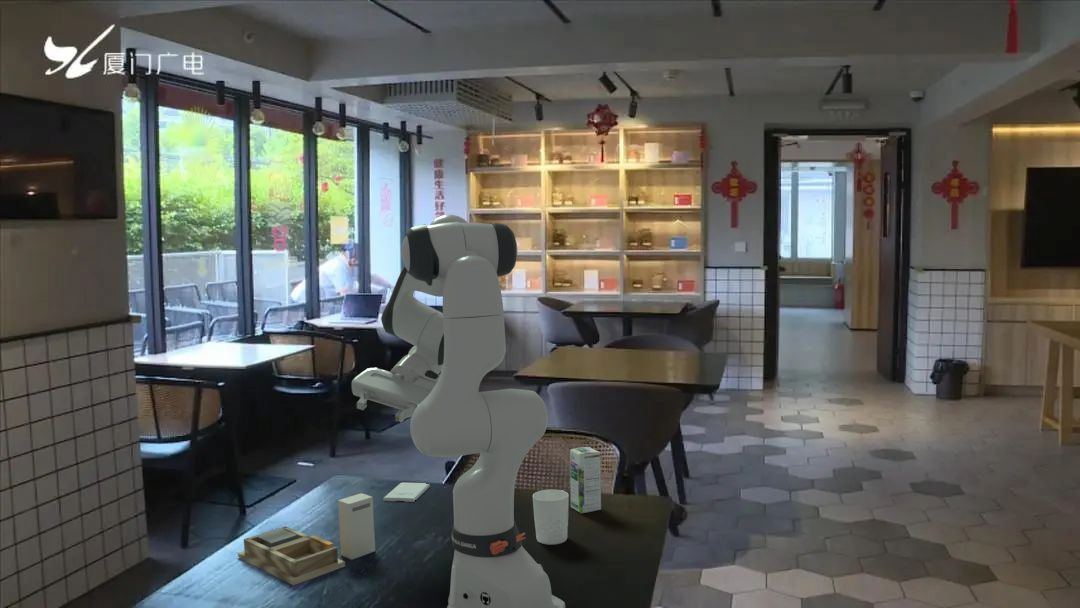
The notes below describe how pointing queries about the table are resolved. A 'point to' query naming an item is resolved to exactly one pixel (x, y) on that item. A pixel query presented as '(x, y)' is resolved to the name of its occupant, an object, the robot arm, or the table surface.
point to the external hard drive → (407, 492)
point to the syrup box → (585, 479)
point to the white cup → (551, 516)
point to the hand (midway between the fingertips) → (378, 412)
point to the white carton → (356, 526)
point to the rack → (291, 555)
